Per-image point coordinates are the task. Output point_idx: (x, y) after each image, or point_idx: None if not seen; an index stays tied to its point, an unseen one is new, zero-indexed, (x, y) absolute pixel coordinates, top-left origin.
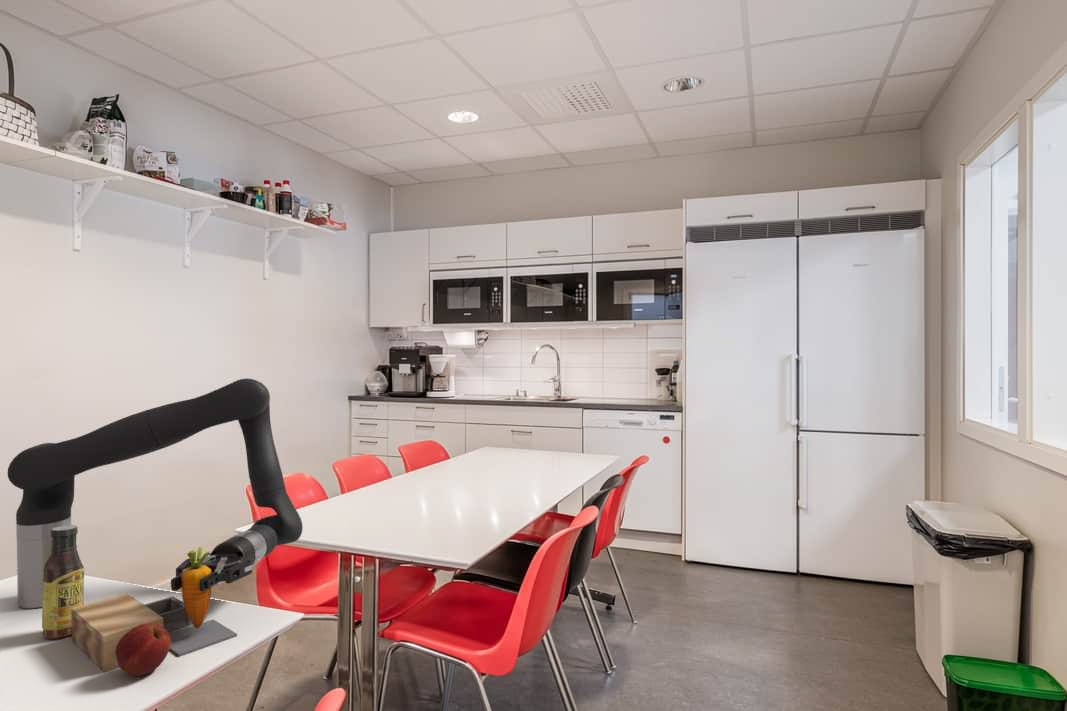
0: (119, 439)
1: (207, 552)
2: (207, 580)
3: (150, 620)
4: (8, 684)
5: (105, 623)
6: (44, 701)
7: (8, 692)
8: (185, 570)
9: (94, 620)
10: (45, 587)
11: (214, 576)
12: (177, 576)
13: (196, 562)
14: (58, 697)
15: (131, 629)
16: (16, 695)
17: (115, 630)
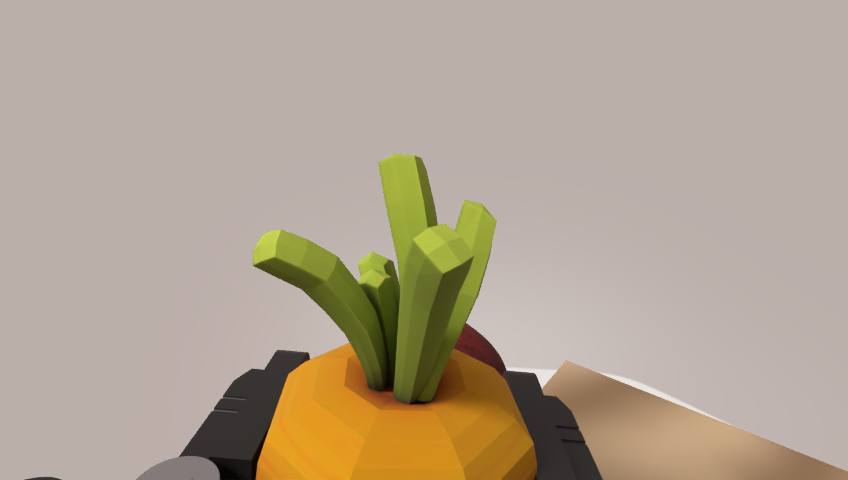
0: None
1: (293, 237)
2: (256, 375)
3: None
4: (727, 423)
5: (684, 432)
6: (553, 371)
7: (675, 398)
8: (480, 363)
9: (772, 456)
10: None
11: (209, 434)
12: (532, 397)
13: (364, 263)
14: (540, 379)
15: (469, 327)
16: (641, 389)
17: (570, 385)
